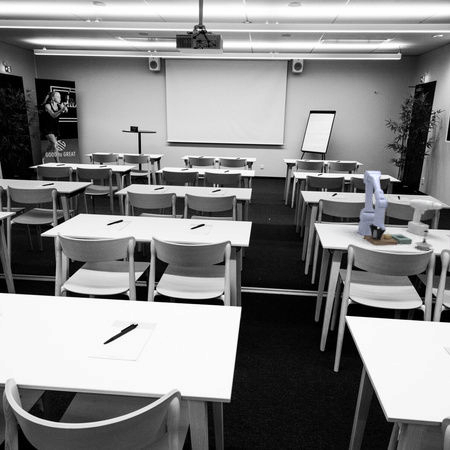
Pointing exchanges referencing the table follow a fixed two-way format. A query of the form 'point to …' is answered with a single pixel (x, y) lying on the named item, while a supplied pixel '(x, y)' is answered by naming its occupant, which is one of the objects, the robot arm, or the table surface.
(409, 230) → the power drill
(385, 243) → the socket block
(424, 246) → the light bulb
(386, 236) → the release key
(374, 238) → the steel peg
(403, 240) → the rack
